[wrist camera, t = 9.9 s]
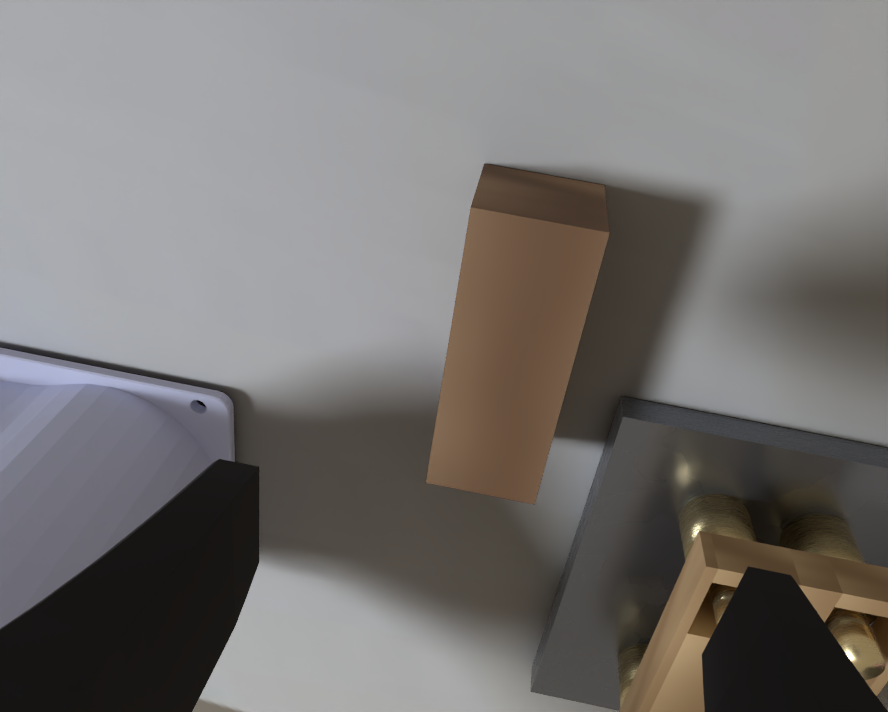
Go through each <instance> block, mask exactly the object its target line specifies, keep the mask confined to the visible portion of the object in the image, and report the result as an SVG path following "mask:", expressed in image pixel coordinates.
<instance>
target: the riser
mask: <svg viewBox="0 0 888 712" xmlns="http://www.w3.org/2000/svg"><path fill="white" fill-rule="evenodd" d="M609 234H610V231H609V222H608V213H607V203H606V194H605V185H600V184H595V183H589V182H584V181H578V180H572V179H567V178H561V177H556V176H550V175H545V174H539V173H534V172H528V171H523V170H517V169H512V168H506V167H500V166H495V165H489V164H484V167H483V170H482V173H481V176H480V179H479V183H478V186H477V189H476V192H475V195H474V199H473V202H472V205H471V209H470V215H469V221H468V227H467V233H466V239H465V246H464V252H463V258H462V264H461V270H460V276H459V282H458V288H457V294H456V301H455V307H454V313H453V319H452V325H451V331H450V337H449V343H448V349H447V356H446V362H445V368H444V374H443V380H442V386H441V392H440V398H439V405H438V411H437V417H436V423H435V429H434V435H433V441H432V447H431V453H430V460H429V466H428V472H427V478H426V483H430V484H435V485H440V486H445V487H450V488H455V489H460V490H465V491H470V492H475V493H480V494H484V495H489V496H494V497H499V498H504V499H509V500H514V501H519V502H524V503H529V504H534V505H535V501H536V497H537V494H538V490H539V486H540V483H541V479H542V476H543V472H544V468H545V465H546V461H547V458H548V454H549V450H550V447H551V443H552V440H553V436H554V432H555V429H556V425H557V421H558V418H559V414H560V411H561V407H562V403H563V400H564V396H565V393H566V389H567V385H568V382H569V378H570V374H571V371H572V367H573V364H574V360H575V356H576V353H577V349H578V346H579V342H580V338H581V335H582V331H583V327H584V324H585V320H586V317H587V313H588V309H589V306H590V302H591V299H592V295H593V291H594V288H595V284H596V281H597V277H598V273H599V270H600V266H601V262H602V259H603V255H604V252H605V248H606V244H607V241H608V237H609Z"/></svg>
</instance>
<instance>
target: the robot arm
mask: <svg viewBox="0 0 888 712" xmlns="http://www.w3.org/2000/svg"><path fill="white" fill-rule="evenodd" d="M196 400H199V401H201V402H203V403H204V404H205V406H202V405H200V404H199V403H198V402H197V401H196ZM258 563H259V467H257V466H252V465H247V464H242V463H237V462H235V444H234V406H233V402H232V400H231V399H230V398H229V397H228V396H227V395H226V394H224V393H222V392H220V391H216V390H211V389H206V388H201V387H196V386H191V385H186V384H181V383H176V382H171V381H166V380H161V379H156V378H151V377H146V376H141V375H136V374H131V373H125V372H120V371H115V370H110V369H105V368H100V367H95V366H90V365H85V364H80V363H75V362H70V361H65V360H60V359H55V358H50V357H45V356H40V355H35V354H30V353H25V352H20V351H15V350H10V349H5V348H0V712H192V711H193V709H194V707H195V705H196V703H197V701H198V699H199V697H200V695H201V693H202V691H203V689H204V687H205V685H206V683H207V681H208V679H209V677H210V675H211V673H212V671H213V669H214V667H215V665H216V663H217V661H218V659H219V657H220V655H221V653H222V651H223V649H224V647H225V645H226V643H227V642H228V639H229V637H230V635H231V633H232V631H233V629H234V627H235V625H236V623H237V620H238V617H239V615H240V612H241V610H242V607H243V604H244V602H245V599H246V597H247V594H248V591H249V588H250V586H251V583H252V580H253V577H254V574H255V572H256V569H257V566H258ZM702 671H703V694H704V707H705V712H887V710H886V709H885V707H884V706H883V705H882V703H881V702H880V701H879V699H878V698H877V696H876V695H875V694H874V692H873V691H872V690H871V688H870V687H869V685H868V684H867V683H866V681H865V680H864V678H863V677H862V676H861V674H860V673H859V671H858V670H857V669H856V667H855V666H854V664H853V663H852V661H851V660H850V659H849V657H848V656H847V654H846V653H845V651H844V650H843V649H842V647H841V646H840V644H839V643H838V641H837V640H836V639H835V637H834V636H833V634H832V633H831V631H830V630H829V629H828V627H827V626H826V624H825V623H824V621H823V620H822V618H821V617H820V616H819V614H818V613H817V611H816V610H815V608H814V607H813V605H812V604H811V603H810V601H809V600H808V598H807V597H806V595H805V594H804V592H803V591H802V590H801V588H800V587H799V585H798V584H797V583H796V581H795V580H794V578H793V577H792V576H791V575H788V574H783V573H779V572H774V571H769V570H764V569H759V568H754V567H749V566H748V567H747V569H746V571H745V573H744V575H743V577H742V579H741V581H740V583H739V584H738V586H737V588H736V590H735V592H734V594H733V596H732V598H731V600H730V602H729V604H728V605H727V607H726V609H725V611H724V613H723V615H722V617H721V619H720V621H719V623H718V624H717V626H716V628H715V630H714V632H713V634H712V636H711V638H710V640H709V642H708V644H707V645H706V647H705V649H704V651H703V653H702Z"/></svg>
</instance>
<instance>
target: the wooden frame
mask: <svg viewBox="0 0 888 712" xmlns="http://www.w3.org/2000/svg"><path fill="white" fill-rule="evenodd" d="M748 566H749V567H754V568H759V569H764V570H769V571H774V572H779V573H783V574H788V575H791V576H792V577H793V578H794V580H795V581H796V583H797V584H798V585H799V587H800V588H801V590H802V591H803V592H804V594H805V595H806V597H807V598H808V600H809V601H810V603H811V604H812V605H813V607H814V608H815V610H816V611H817V613H818V614H819V616H820V617H821V618H822V620H823V621H824V623H825V621H826V620H827V618H828V616H829V615H830V613H831V612H832V610H833V609H834V607H837V608H842V609H847V610H852V611H857V612H862V613H867V614H872V615H877V616H878V617H877V618H876V619H875V621H874V622H873V624H872V625H871V627H870V628H871V630H872V633H873V635H874V638H875V640H876V643H877V645H878V647H879V650H880V652H881V655H882V657H883V660H884V662H885V670H884V672H883V673H882V674H881V675H879V676H877V677H875V678H872V679H869V680H865V681H866V683H867V684H868V685H869V687H870V688H871V690H872V691H873V692H874V694H875V695H876V696H877V695H878V694H879V693H880V691H881V690H882V689H883V687H884V686H885V685H886V683H887V682H888V568H886V567H881V566H876V565H871V564H866V563H861V562H855V561H850V560H845V559H840V558H835V557H830V556H825V555H820V554H815V553H810V552H805V551H799V550H794V549H789V548H784V547H779V546H774V545H769V544H764V543H759V542H754V541H748V540H743V539H738V538H733V537H728V536H723V535H718V534H713V533H708V532H703V531H699V532H698V534H697V537H696V539H695V541H694V543H693V546H692V548H691V550H690V552H689V555H688V557H687V559H686V561H685V564H684V566H683V568H682V571H681V573H680V575H679V577H678V580H677V582H676V584H675V586H674V589H673V591H672V593H671V595H670V598H669V600H668V602H667V604H666V607H665V609H664V611H663V613H662V616H661V618H660V620H659V622H658V625H657V627H656V629H655V631H654V634H653V636H652V638H651V640H650V643H649V645H648V647H647V649H646V652H645V654H644V656H643V658H642V661H641V663H640V665H639V667H638V670H637V672H636V674H635V676H634V679H633V681H632V683H631V685H630V688H629V690H628V692H627V694H626V697H625V699H624V701H623V704H622V706H621V708H620V710H619V712H705V707H704V694H703V671H702V653H703V651H704V649H705V647H706V645H707V644H708V642H709V640H710V638H711V636H712V634H713V632H714V630H715V628H716V626H717V625H716V620H715V615H714V610H713V604H712V603H709V602H704V601H703V600H704V598H705V596H706V594H707V592H708V590H709V587H710V585H711V583H717V584H722V585H727V586H732V587H737V586H738V584H739V583H740V581H741V579H742V577H743V575H744V573H745V571H746V569H747V567H748Z"/></svg>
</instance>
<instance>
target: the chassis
mask: <svg viewBox="0 0 888 712" xmlns="http://www.w3.org/2000/svg"><path fill="white" fill-rule="evenodd" d="M699 531H703V532H708V533H713V534H718V535H723V536H728V537H733V538H738V539H743V540H748V541H754V542H759V543H764V544H769V545H774V546H779V547H784V548H789V549H794V550H799V551H805V552H810V553H815V554H820V555H825V556H830V557H835V558H840V559H845V560H850V561H855V562H861V563H866V564H871V565H876V566H881V567H886V568H888V448H886V447H881V446H876V445H870V444H865V443H860V442H855V441H850V440H845V439H839V438H834V437H829V436H824V435H819V434H814V433H809V432H803V431H798V430H793V429H788V428H783V427H778V426H772V425H767V424H762V423H757V422H752V421H747V420H741V419H736V418H731V417H726V416H721V415H716V414H711V413H705V412H700V411H695V410H690V409H685V408H680V407H674V406H669V405H664V404H659V403H654V402H649V401H643V400H638V399H633V398H628V397H623V396H621V398H620V401H619V404H618V407H617V410H616V414H615V417H614V420H613V423H612V426H611V429H610V432H609V435H608V438H607V441H606V444H605V447H604V450H603V453H602V456H601V459H600V462H599V465H598V468H597V471H596V474H595V478H594V481H593V484H592V487H591V490H590V493H589V496H588V499H587V502H586V505H585V508H584V511H583V514H582V517H581V520H580V523H579V526H578V529H577V532H576V535H575V538H574V542H573V545H572V548H571V551H570V554H569V557H568V560H567V563H566V566H565V569H564V572H563V575H562V578H561V581H560V584H559V587H558V590H557V593H556V596H555V599H554V602H553V605H552V609H551V612H550V615H549V618H548V621H547V624H546V627H545V630H544V633H543V636H542V639H541V642H540V645H539V648H538V651H537V654H536V657H535V660H534V663H533V666H532V677H531V692H535V693H540V694H544V695H549V696H554V697H558V698H563V699H568V700H572V701H577V702H582V703H586V704H591V705H596V706H600V707H605V708H610V709H614V710H620V708H621V706H622V704H623V701H624V699H625V697H626V694H627V692H628V690H629V688H630V685H631V683H632V681H633V679H634V676H635V674H636V672H637V670H638V667H639V665H640V663H641V661H642V658H643V656H644V654H645V652H646V649H647V647H648V645H649V643H650V640H651V638H652V636H653V634H654V631H655V629H656V627H657V625H658V622H659V620H660V618H661V616H662V613H663V611H664V609H665V607H666V604H667V602H668V600H669V598H670V595H671V593H672V591H673V589H674V586H675V584H676V582H677V580H678V577H679V575H680V573H681V571H682V568H683V566H684V564H685V561H686V559H687V557H688V555H689V552H690V550H691V548H692V546H693V543H694V541H695V539H696V537H697V534H698V532H699ZM736 588H737V587H732V586H727V585H722V584H717V583H711V585H710V587H709V590H708V592H707V594H706V596H705V598H704V600H703V601H704V602H709V603H712V604H713V610H714V615H715V620H716V625H717V624H718V623H719V621H720V619H721V617H722V615H723V613H724V611H725V609H726V607H727V605H728V604H729V602H730V600H731V598H732V596H733V594H734V592H735V590H736ZM877 617H878V616H877V615H872V614H867V613H862V612H857V611H852V610H847V609H842V608H837V607H834V609H833V610H832V612H831V613H830V615H829V616H828V618H827V620H826V621H825V624H826V626H827V627H828V629H829V630H830V631H831V633H832V634H833V636H834V637H835V639H836V640H837V641H838V643H839V644H840V646H841V647H842V649H843V650H844V651H845V653H846V654H847V656H848V657H849V659H850V660H851V661H852V663H853V664H854V666H855V667H856V669H857V670H858V671H859V673H860V674H861V676H862V677H863V678H864V680H869V679H872V678H875V677H877V676H879V675H881V674H882V673H883V672H884V670H885V662H884V660H883V657H882V655H881V652H880V650H879V647H878V645H877V643H876V640H875V638H874V635H873V633H872V630H871V628H870V627H871V625H872V624H873V622H874V621H875V619H876V618H877Z"/></svg>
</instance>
